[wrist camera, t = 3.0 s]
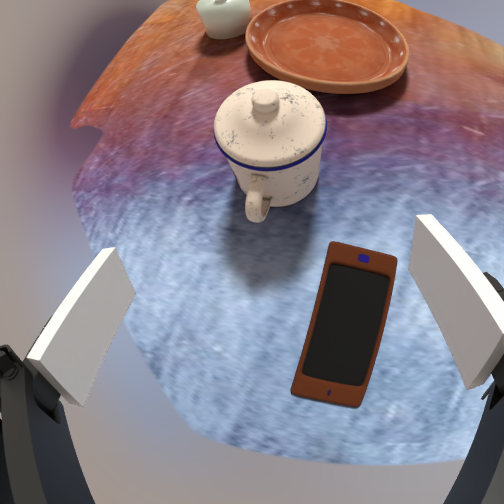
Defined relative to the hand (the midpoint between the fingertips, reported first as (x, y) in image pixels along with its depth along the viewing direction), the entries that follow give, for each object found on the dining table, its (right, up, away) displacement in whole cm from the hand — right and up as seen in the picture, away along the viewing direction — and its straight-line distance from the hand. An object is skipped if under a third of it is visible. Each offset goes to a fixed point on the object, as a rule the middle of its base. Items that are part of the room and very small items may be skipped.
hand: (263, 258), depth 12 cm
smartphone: (+8, -7, +14) cm, 18 cm away
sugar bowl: (-4, +37, +25) cm, 45 cm away
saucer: (+11, +29, +21) cm, 38 cm away
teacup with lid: (+2, +7, +18) cm, 19 cm away
